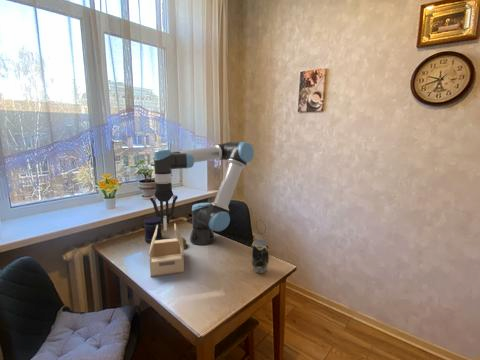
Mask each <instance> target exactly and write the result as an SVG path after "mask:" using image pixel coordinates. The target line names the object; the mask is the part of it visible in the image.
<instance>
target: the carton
mask: <svg viewBox="0 0 480 360" xmlns="http://www.w3.org/2000/svg"><path fill="white" fill-rule="evenodd" d="M184 261H185V259H184V252H183V251H182V249H181V247H180V244H179V242H178V240H177V238H176V237H173V238H167V239H166V238H165V239H162V240H155V242H154V245H153V248H152V251H151V254H150V256H149V270H150V272H149V273H150V278H153V277H160V276H161V277H162V276H167V275H174V274H181V273H184V272H185V265H184V264H185V263H184Z"/></svg>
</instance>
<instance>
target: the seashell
mask: <svg viewBox="0 0 480 360" xmlns="http://www.w3.org/2000/svg"><path fill="white" fill-rule="evenodd" d="M181 237H182V236H181ZM182 239H183V247H184V250H186V249H187V248H188V246H187V240H186V238H185V237H182Z"/></svg>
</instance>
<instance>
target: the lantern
mask: <svg viewBox="0 0 480 360" xmlns="http://www.w3.org/2000/svg"><path fill="white" fill-rule="evenodd" d="M258 221H259V219H257V221H256V222H255V224H257V223H258ZM260 221H261V222H262V223H263V224H264V232H260V231H259V230H258V226H255V228H256V231H257V233H259V234H257V235H256V236H254V240H253V242H252V244H251V247H252V253H251V254H252V256H251V257H252V258H251V266H252V267H253V271H255V272H256V273H260V274H261V273H265V272H267V270H268V266H269V265H268V264H269V261H270V255H269V254H270V251H269V246H268V245H269V243H268V242H267V237H266V236H264V233H265V232H266V230H267V229H266V224H265V221H264V220H262V219H260Z"/></svg>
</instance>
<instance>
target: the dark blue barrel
mask: <svg viewBox="0 0 480 360" xmlns="http://www.w3.org/2000/svg"><path fill="white" fill-rule="evenodd" d="M143 222H144V223H143V227H144V242H145V243H146V244H150V245H151V241H152V238H153V235H154V232H155V229H156V226H157V225H158V228H157V235H156V239H155V240H163V235H162V234H163V233H162V224H161V218H160V217H157V216H152V217H146V218H144V220H143Z"/></svg>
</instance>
